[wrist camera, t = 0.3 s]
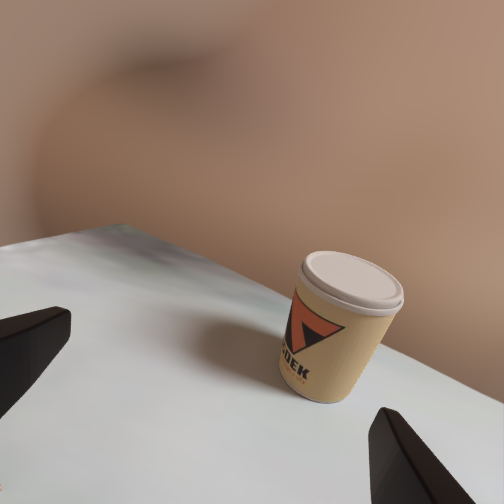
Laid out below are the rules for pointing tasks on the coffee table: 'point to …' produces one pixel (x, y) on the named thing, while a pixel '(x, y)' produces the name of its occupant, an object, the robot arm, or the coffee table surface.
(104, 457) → the coffee table surface
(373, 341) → the coffee cup
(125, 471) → the coffee table surface
